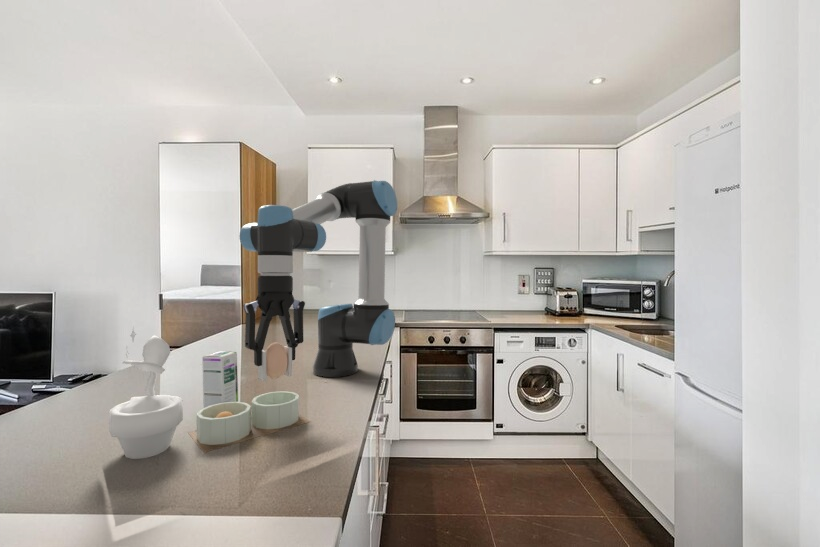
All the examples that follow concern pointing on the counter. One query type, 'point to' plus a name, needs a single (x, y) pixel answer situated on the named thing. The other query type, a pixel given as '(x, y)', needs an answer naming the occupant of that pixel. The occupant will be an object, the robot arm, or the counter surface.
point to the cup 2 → (275, 410)
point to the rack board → (253, 434)
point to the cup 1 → (223, 423)
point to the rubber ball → (224, 414)
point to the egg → (276, 360)
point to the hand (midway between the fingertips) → (275, 377)
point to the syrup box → (220, 378)
